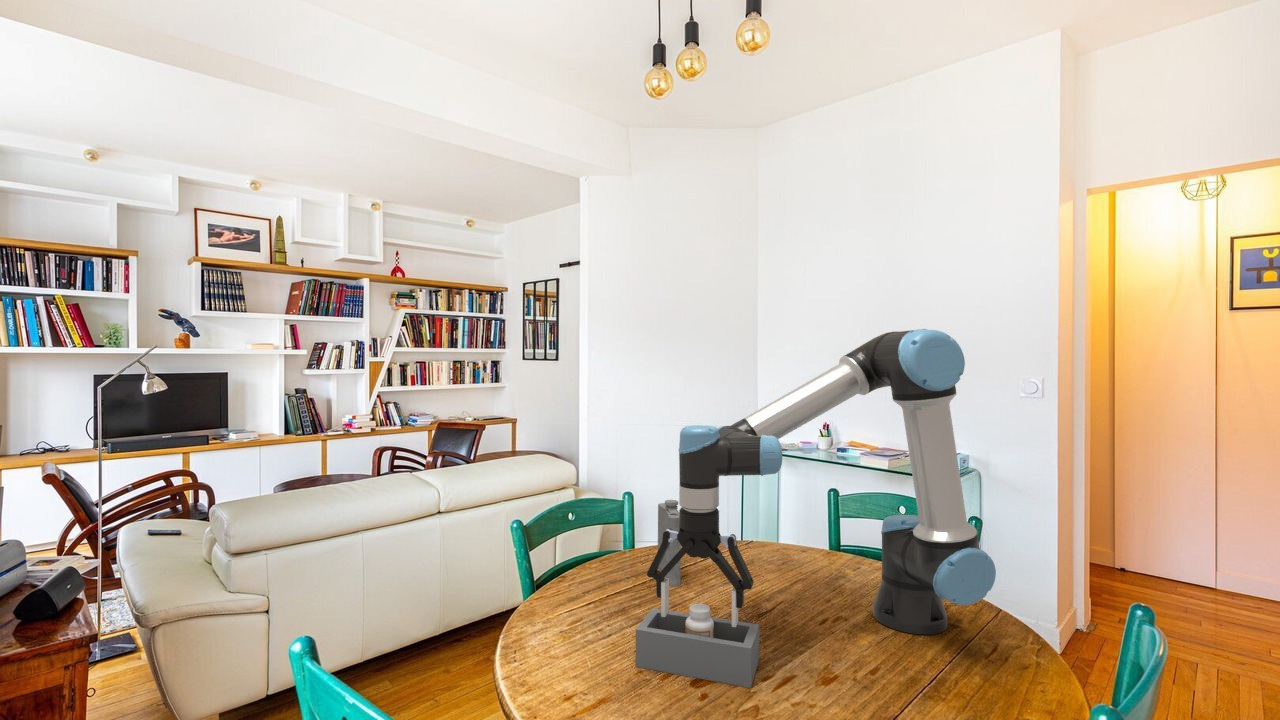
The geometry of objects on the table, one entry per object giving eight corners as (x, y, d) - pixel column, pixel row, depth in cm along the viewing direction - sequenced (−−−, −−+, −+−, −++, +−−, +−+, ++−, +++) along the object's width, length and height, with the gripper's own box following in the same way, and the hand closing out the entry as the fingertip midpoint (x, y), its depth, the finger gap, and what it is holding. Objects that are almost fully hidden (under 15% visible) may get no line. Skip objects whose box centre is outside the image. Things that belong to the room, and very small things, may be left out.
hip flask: (656, 565, 168) (657, 494, 168) (670, 564, 169) (671, 493, 169) (669, 587, 153) (670, 508, 153) (685, 586, 153) (685, 507, 153)
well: (758, 660, 116) (759, 624, 116) (750, 688, 106) (751, 648, 106) (652, 642, 123) (652, 608, 123) (635, 666, 113) (635, 629, 113)
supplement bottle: (695, 648, 118) (696, 599, 118) (719, 657, 115) (719, 606, 114) (679, 659, 114) (679, 608, 114) (703, 668, 110) (703, 616, 110)
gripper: (768, 508, 114) (768, 619, 114) (643, 498, 122) (643, 602, 122) (762, 518, 107) (763, 637, 107) (630, 507, 115) (631, 617, 115)
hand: (699, 619), depth 114 cm, fingers open, 13 cm apart
